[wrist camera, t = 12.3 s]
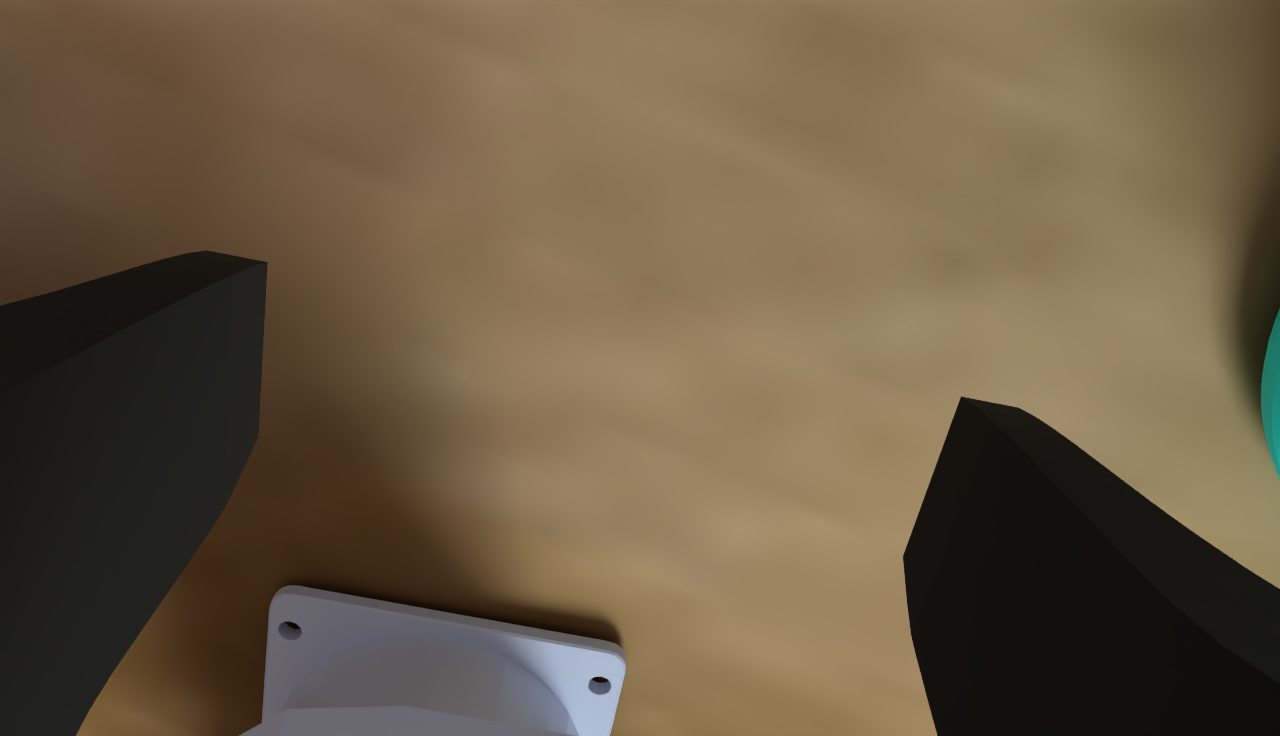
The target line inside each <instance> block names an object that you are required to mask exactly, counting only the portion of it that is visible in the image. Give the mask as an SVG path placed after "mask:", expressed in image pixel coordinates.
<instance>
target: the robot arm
mask: <svg viewBox="0 0 1280 736" xmlns="http://www.w3.org/2000/svg"><path fill="white" fill-rule="evenodd" d="M266 279H267V262H263V261H258V260H253V259H248V258H242V257H237V256H232V255H227V254H222V253H217V252H211V251H200V252H192V253H187V254H182V255H178V256H174V257H170V258H166V259H163V260H159V261H155V262H152V263H149V264H145V265H142V266H138V267H135V268H132V269H128V270H125V271H122V272H118V273H115V274H112V275H108V276H105V277H102V278H98V279H95V280H92V281H88V282H85V283H82V284H78V285H75V286H72V287H68V288H65V289H62V290H58V291H55V292H51V293H48V294H44V295H40V296H36V297H32V298H28V299H25V300H21V301H17V302H13V303H9V304H5V305H1V306H0V736H76V734H77V732H78V730H79V728H80V726H81V725H82V723H83V721H84V719H85V717H86V715H87V713H88V711H89V710H90V708H91V706H92V705H93V703H94V702H95V700H96V698H97V697H98V695H99V693H100V692H101V690H102V689H103V687H104V685H105V684H106V682H107V681H108V679H109V677H110V676H111V674H112V672H113V671H114V669H115V668H116V667H117V665H118V664H119V662H120V661H121V659H122V658H123V656H124V655H125V654H126V652H127V651H128V649H129V648H130V646H131V645H132V643H133V642H134V640H135V639H136V638H137V636H138V635H139V633H140V632H141V630H142V629H143V627H144V626H145V624H146V623H147V622H148V620H149V619H150V617H151V616H152V614H153V613H154V611H155V610H156V609H157V607H158V606H159V604H160V603H161V601H162V600H163V598H164V597H165V596H166V594H167V593H168V591H169V590H170V588H171V587H172V585H173V584H174V582H175V581H176V580H177V578H178V577H179V575H180V574H181V572H182V571H183V569H184V568H185V567H186V565H187V564H188V562H189V561H190V559H191V558H192V556H193V555H194V553H195V552H196V550H197V549H198V547H199V546H200V544H201V543H202V541H203V540H204V538H205V537H206V535H207V534H208V532H209V531H210V530H211V528H212V526H213V525H214V523H215V522H216V520H217V519H218V517H219V516H220V514H221V513H222V511H223V509H224V507H225V505H226V503H227V501H228V499H229V497H230V495H231V493H232V491H233V489H234V487H235V485H236V483H237V481H238V479H239V477H240V475H241V473H242V471H243V468H244V466H245V464H246V462H247V460H248V457H249V455H250V453H251V451H252V449H253V446H254V444H255V442H256V440H257V438H258V429H259V410H260V391H261V373H262V354H263V335H264V317H265V298H266ZM903 561H904V572H905V584H906V595H907V605H908V613H909V621H910V629H911V636H912V641H913V645H914V649H915V653H916V657H917V661H918V664H919V668H920V672H921V676H922V680H923V683H924V687H925V691H926V695H927V699H928V702H929V706H930V710H931V713H932V717H933V721H934V724H935V728H936V732H937V735H938V736H1280V589H1279V588H1277V587H1275V586H1274V585H1272V584H1270V583H1269V582H1267V581H1266V580H1264V579H1263V578H1261V577H1259V576H1258V575H1256V574H1255V573H1253V572H1251V571H1250V570H1248V569H1247V568H1245V567H1244V566H1242V565H1241V564H1239V563H1238V562H1236V561H1235V560H1233V559H1232V558H1230V557H1229V556H1227V555H1226V554H1224V553H1223V552H1221V551H1220V550H1219V549H1217V548H1216V547H1214V546H1213V545H1211V544H1210V543H1208V542H1207V541H1205V540H1204V539H1202V538H1201V537H1199V536H1198V535H1197V534H1195V533H1194V532H1192V531H1191V530H1189V529H1188V528H1187V527H1185V526H1184V525H1182V524H1181V523H1180V522H1178V521H1177V520H1175V519H1174V518H1173V517H1171V516H1170V515H1168V514H1167V513H1166V512H1164V511H1163V510H1162V509H1160V508H1159V507H1158V506H1156V505H1155V504H1153V503H1152V502H1151V501H1149V500H1148V499H1147V498H1145V497H1144V496H1143V495H1141V494H1140V493H1139V492H1137V491H1136V490H1135V489H1133V488H1132V487H1131V486H1129V485H1128V484H1127V483H1125V482H1124V481H1123V480H1122V479H1120V478H1119V477H1118V476H1116V475H1115V474H1114V473H1112V472H1111V471H1110V470H1108V469H1107V468H1106V467H1104V466H1103V465H1102V464H1100V463H1099V462H1098V461H1096V460H1095V459H1094V458H1092V457H1091V456H1090V455H1089V454H1087V453H1086V452H1085V451H1083V450H1082V449H1081V448H1079V447H1078V446H1077V445H1075V444H1074V443H1073V442H1071V441H1070V440H1068V439H1067V438H1066V437H1064V436H1063V435H1061V434H1060V433H1059V432H1057V431H1056V430H1054V429H1053V428H1052V427H1050V426H1049V425H1047V424H1046V423H1044V422H1043V421H1041V420H1040V419H1038V418H1036V417H1035V416H1033V415H1031V414H1029V413H1027V412H1026V411H1024V410H1022V409H1020V408H1017V407H1012V406H1007V405H1001V404H996V403H991V402H986V401H981V400H976V399H970V398H965V397H961V398H960V401H959V404H958V407H957V409H956V412H955V415H954V418H953V420H952V423H951V426H950V429H949V431H948V434H947V437H946V440H945V442H944V445H943V448H942V451H941V453H940V456H939V459H938V462H937V464H936V467H935V470H934V473H933V475H932V478H931V481H930V484H929V486H928V489H927V492H926V495H925V497H924V500H923V503H922V506H921V508H920V511H919V514H918V517H917V519H916V522H915V525H914V528H913V530H912V533H911V536H910V539H909V541H908V544H907V547H906V550H905V552H904V555H903ZM289 621H291V622H293V623H296V624H297V625H298V626H299V627H300V628H301V629H294V628H291V627H289V626H288V625H287V624H286V623H285V622H289ZM625 672H626V654H625V652H624V650H623V649H622V648H621V647H620V646H618V645H617V644H615V643H612V642H609V641H605V640H599V639H593V638H588V637H582V636H577V635H571V634H565V633H560V632H554V631H549V630H543V629H538V628H532V627H526V626H521V625H515V624H510V623H504V622H498V621H493V620H487V619H482V618H476V617H470V616H465V615H459V614H454V613H448V612H443V611H437V610H431V609H426V608H420V607H415V606H409V605H403V604H398V603H392V602H387V601H381V600H376V599H370V598H364V597H359V596H353V595H348V594H342V593H336V592H331V591H325V590H320V589H314V588H308V587H303V586H296V585H288V586H285V587H282V588H280V589H279V590H278V591H277V592H276V593H275V595H274V597H273V599H272V601H271V604H270V607H269V620H268V635H267V650H266V665H265V680H264V696H263V711H262V723H261V724H259V725H257V726H256V727H254V728H252V729H250V730H248V731H246V732H244V733H243V734H241V735H239V736H610V733H611V729H612V725H613V721H614V717H615V713H616V709H617V704H618V700H619V696H620V692H621V688H622V684H623V680H624V676H625ZM594 677H604V678H606V679H608V680H609V681H607V682H605V683H598V682H596V681H593V680H592V678H594Z"/></svg>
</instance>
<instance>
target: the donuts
mask: <svg viewBox="0 0 1280 736" xmlns="http://www.w3.org/2000/svg"><path fill="white" fill-rule="evenodd" d="M1261 413H1262V421H1263V427H1264V433H1265V438H1266V442H1267V446H1268V449H1269V452H1270V455H1271V458H1272V461H1273V464H1274V467H1275V469H1276V472H1277V475H1278V477H1279V479H1280V309H1279V312H1278V314H1277V317H1276V319H1275V322H1274V326H1273V329H1272V332H1271V335H1270V338H1269V341H1268V346H1267V351H1266V356H1265V361H1264V367H1263V374H1262V384H1261Z"/></svg>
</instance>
